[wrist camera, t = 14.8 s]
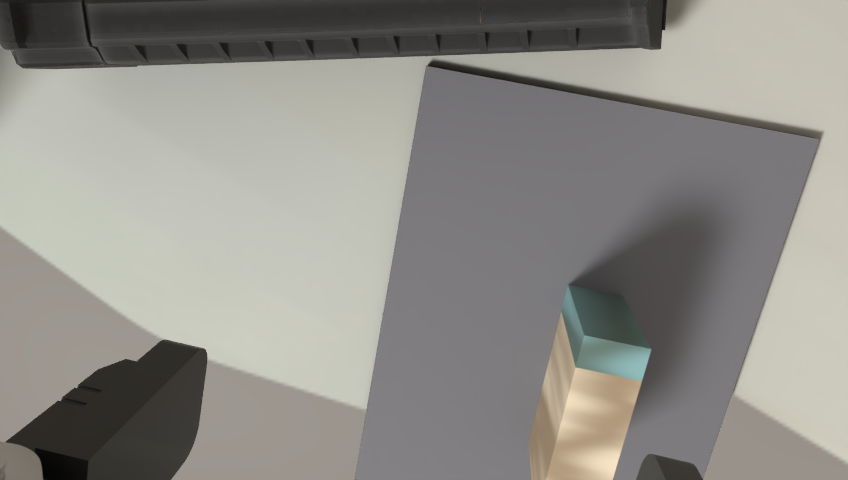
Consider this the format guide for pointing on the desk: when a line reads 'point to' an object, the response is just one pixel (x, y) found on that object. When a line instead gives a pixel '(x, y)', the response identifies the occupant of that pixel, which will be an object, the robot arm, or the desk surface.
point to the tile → (588, 388)
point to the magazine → (313, 29)
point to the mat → (568, 269)
